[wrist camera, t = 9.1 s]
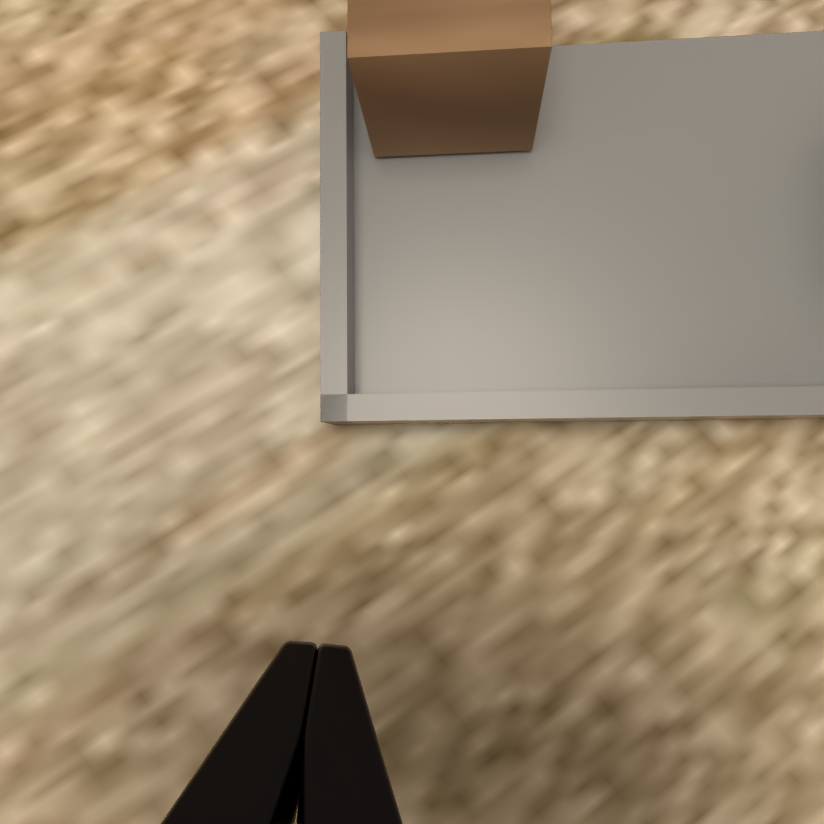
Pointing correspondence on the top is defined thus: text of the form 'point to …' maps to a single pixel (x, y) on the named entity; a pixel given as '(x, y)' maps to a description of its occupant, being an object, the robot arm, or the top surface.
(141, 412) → the top surface
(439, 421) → the parts tray
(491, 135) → the walnut box
